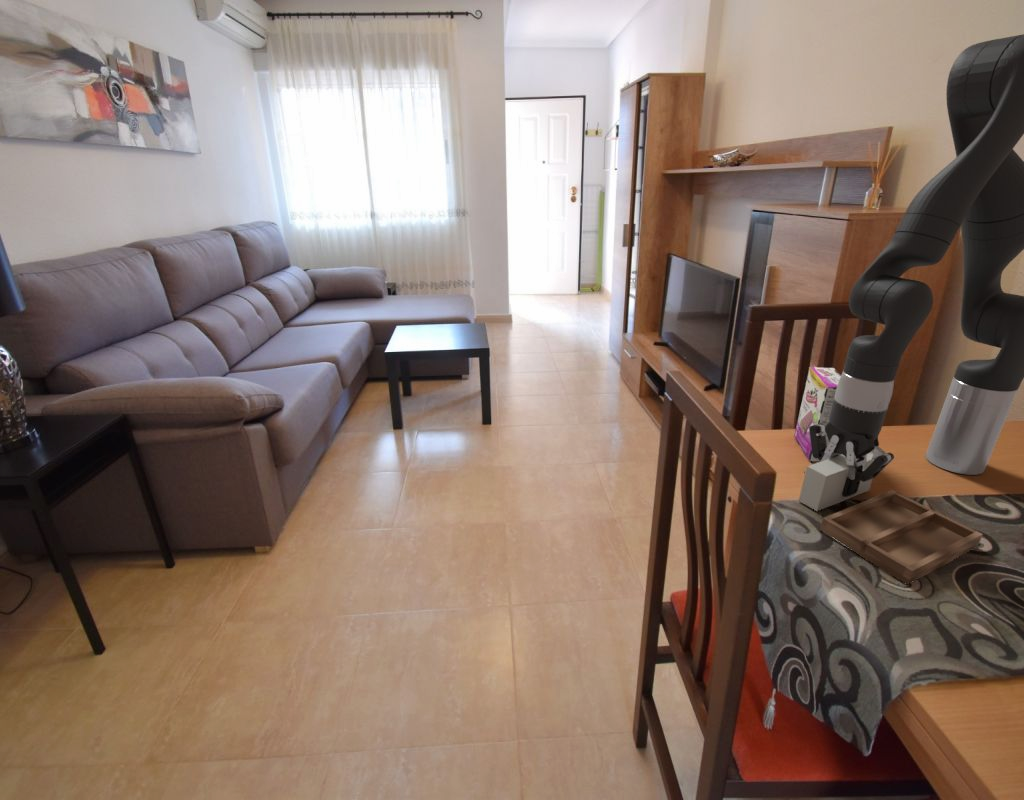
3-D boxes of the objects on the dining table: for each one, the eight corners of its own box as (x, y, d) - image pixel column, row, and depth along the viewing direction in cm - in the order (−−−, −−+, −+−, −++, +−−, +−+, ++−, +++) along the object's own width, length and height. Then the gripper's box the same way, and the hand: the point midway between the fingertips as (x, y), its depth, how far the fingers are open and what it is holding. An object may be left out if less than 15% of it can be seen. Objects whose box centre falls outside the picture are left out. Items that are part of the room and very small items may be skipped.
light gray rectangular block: (850, 481, 98) (859, 448, 95) (868, 490, 95) (879, 456, 92) (798, 500, 92) (807, 466, 89) (816, 511, 89) (826, 476, 86)
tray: (888, 502, 92) (892, 490, 91) (977, 547, 81) (983, 534, 80) (819, 530, 85) (822, 518, 84) (906, 585, 74) (912, 571, 73)
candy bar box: (791, 436, 115) (808, 365, 108) (816, 438, 114) (835, 367, 107) (807, 462, 105) (826, 386, 98) (834, 464, 104) (856, 388, 97)
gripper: (921, 412, 82) (890, 504, 89) (835, 381, 93) (813, 465, 100) (891, 421, 79) (861, 516, 86) (806, 389, 90) (786, 475, 97)
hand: (835, 488), depth 93 cm, fingers closed on light gray rectangular block, 3 cm apart
